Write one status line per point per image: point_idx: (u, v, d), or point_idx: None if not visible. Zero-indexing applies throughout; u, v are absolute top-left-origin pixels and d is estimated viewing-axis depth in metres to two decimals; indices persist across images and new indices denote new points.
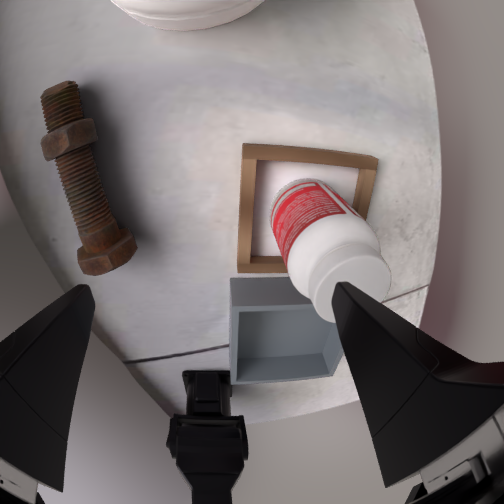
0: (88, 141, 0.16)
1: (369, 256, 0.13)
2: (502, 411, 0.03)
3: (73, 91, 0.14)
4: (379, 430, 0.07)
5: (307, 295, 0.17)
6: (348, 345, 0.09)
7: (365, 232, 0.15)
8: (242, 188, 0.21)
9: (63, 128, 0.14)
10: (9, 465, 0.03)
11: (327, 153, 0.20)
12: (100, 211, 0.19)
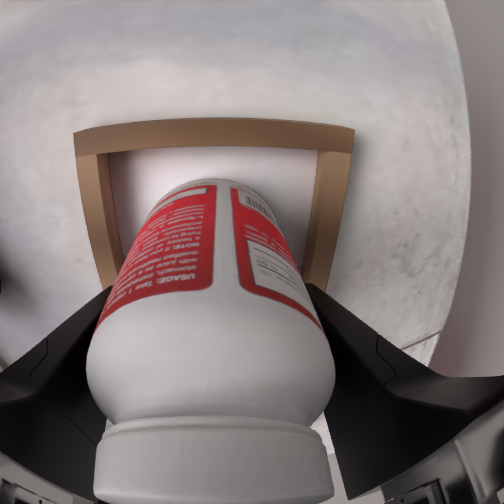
0: None
1: (214, 501, 0.02)
2: (464, 437, 0.03)
3: None
4: (339, 441, 0.06)
5: None
6: None
7: (266, 356, 0.04)
8: (84, 209, 0.10)
9: None
10: (44, 481, 0.03)
11: (234, 122, 0.09)
12: None
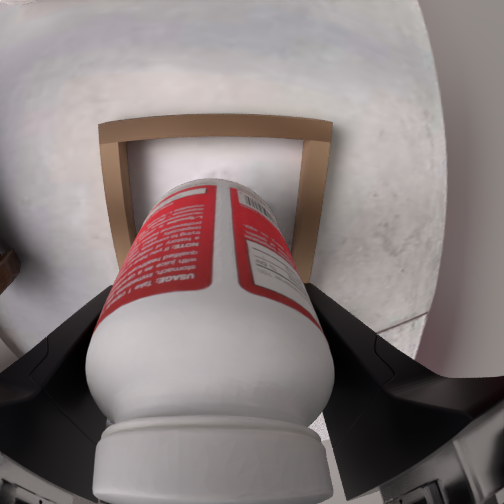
0: None
1: (213, 500, 0.02)
2: (463, 438, 0.03)
3: None
4: (338, 441, 0.06)
5: None
6: None
7: (264, 356, 0.04)
8: (105, 188, 0.12)
9: None
10: (44, 481, 0.03)
11: (233, 117, 0.11)
12: None
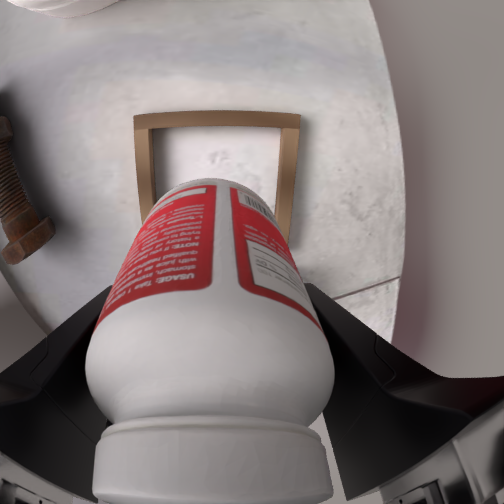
0: None
1: (212, 500, 0.02)
2: (462, 438, 0.03)
3: None
4: (338, 441, 0.06)
5: None
6: None
7: (264, 357, 0.04)
8: (136, 162, 0.17)
9: None
10: (44, 481, 0.03)
11: (229, 112, 0.16)
12: (13, 200, 0.15)
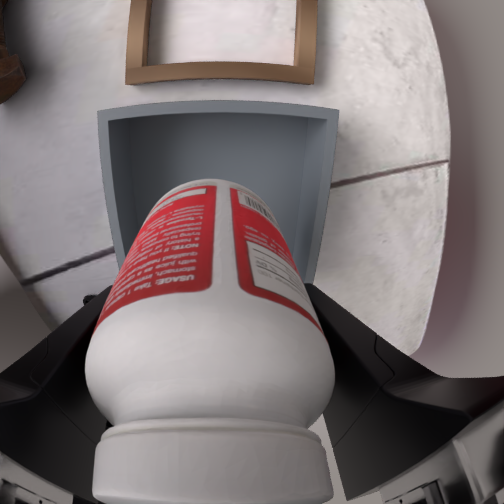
0: None
1: (212, 503, 0.02)
2: (462, 438, 0.03)
3: None
4: (338, 441, 0.06)
5: None
6: None
7: (265, 358, 0.04)
8: None
9: None
10: (44, 481, 0.03)
11: None
12: None
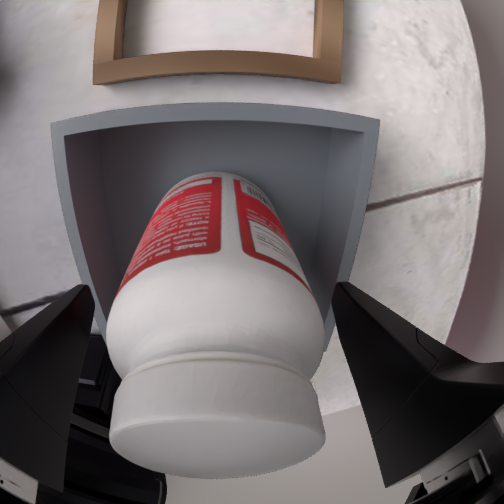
0: None
1: (221, 418, 0.04)
2: (502, 411, 0.03)
3: None
4: (379, 430, 0.07)
5: None
6: (348, 345, 0.09)
7: (263, 306, 0.06)
8: None
9: None
10: (9, 465, 0.03)
11: None
12: None
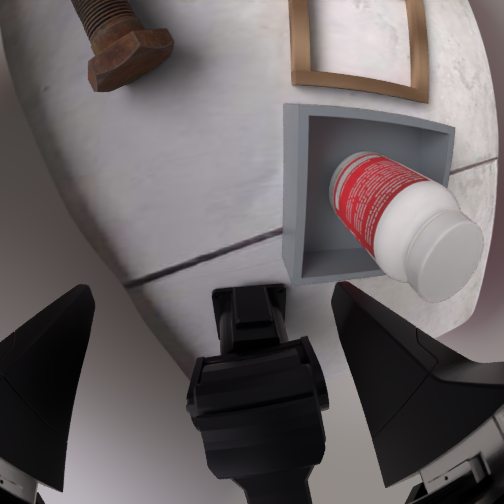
0: None
1: (469, 222, 0.10)
2: (502, 411, 0.03)
3: None
4: (379, 430, 0.07)
5: (396, 275, 0.14)
6: (348, 345, 0.09)
7: (452, 199, 0.12)
8: None
9: None
10: (10, 465, 0.03)
11: None
12: (122, 6, 0.10)
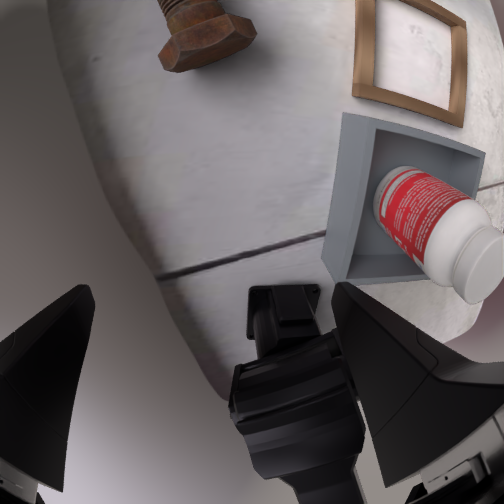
0: None
1: None
2: (502, 411, 0.03)
3: None
4: (379, 430, 0.07)
5: (440, 279, 0.14)
6: (348, 345, 0.09)
7: (488, 217, 0.12)
8: (363, 2, 0.12)
9: None
10: (10, 465, 0.03)
11: (429, 0, 0.11)
12: None
